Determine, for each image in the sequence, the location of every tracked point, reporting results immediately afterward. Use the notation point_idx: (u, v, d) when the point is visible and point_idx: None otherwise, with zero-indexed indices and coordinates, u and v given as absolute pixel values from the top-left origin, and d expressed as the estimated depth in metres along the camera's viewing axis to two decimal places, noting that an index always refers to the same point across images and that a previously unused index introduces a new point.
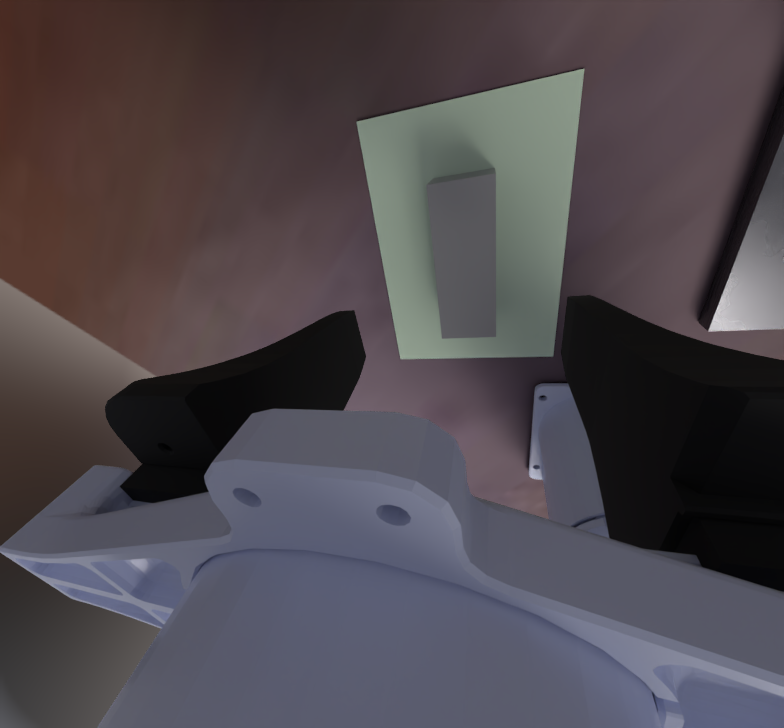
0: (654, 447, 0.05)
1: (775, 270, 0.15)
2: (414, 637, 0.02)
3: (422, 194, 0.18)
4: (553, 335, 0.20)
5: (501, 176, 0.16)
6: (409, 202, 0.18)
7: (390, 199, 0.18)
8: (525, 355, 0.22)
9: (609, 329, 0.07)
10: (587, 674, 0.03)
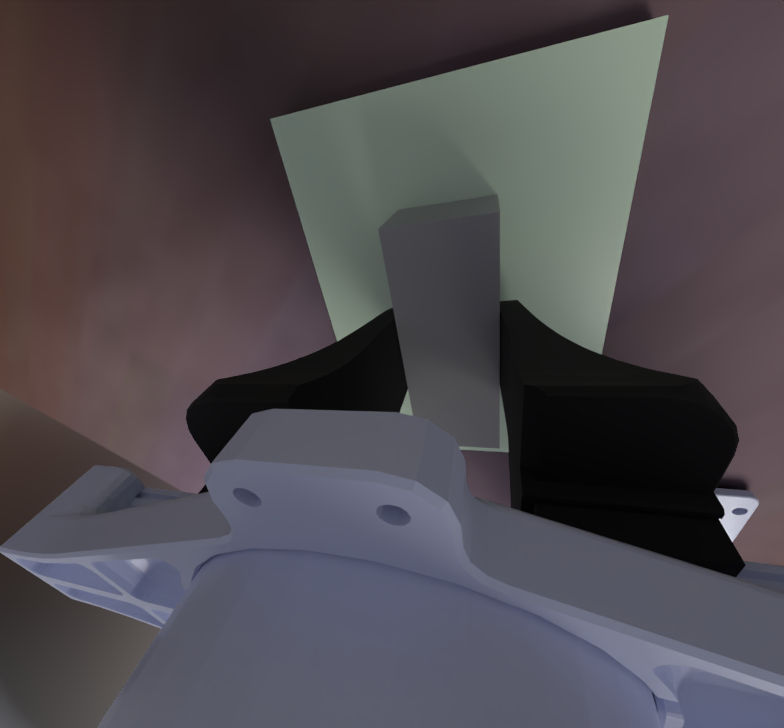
0: (517, 440, 0.06)
1: None
2: (414, 637, 0.02)
3: None
4: None
5: (508, 208, 0.10)
6: (364, 244, 0.12)
7: (335, 238, 0.12)
8: None
9: (510, 333, 0.08)
10: (587, 674, 0.03)
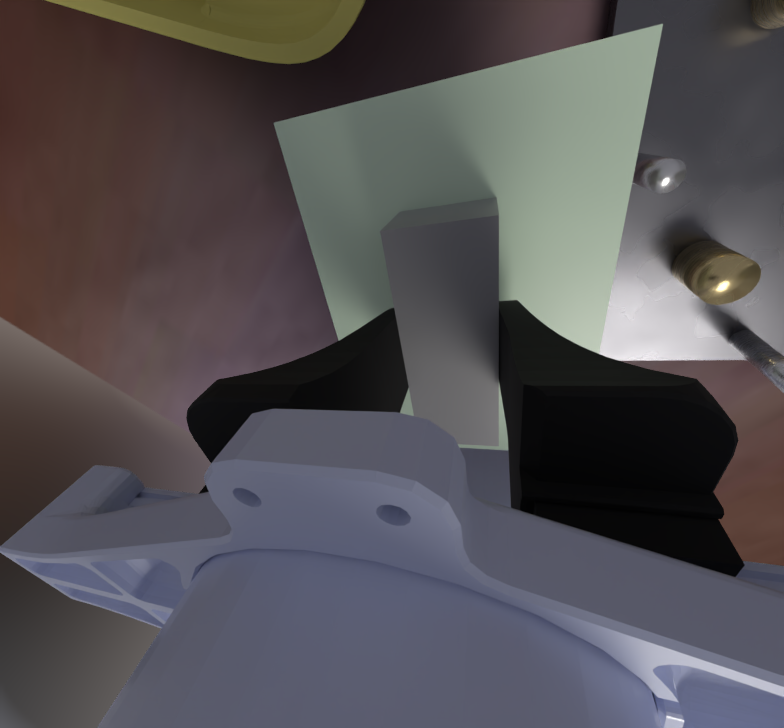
0: (516, 440, 0.06)
1: None
2: (414, 637, 0.02)
3: None
4: None
5: (507, 210, 0.10)
6: (365, 246, 0.12)
7: (337, 240, 0.12)
8: None
9: (510, 333, 0.08)
10: (587, 674, 0.03)
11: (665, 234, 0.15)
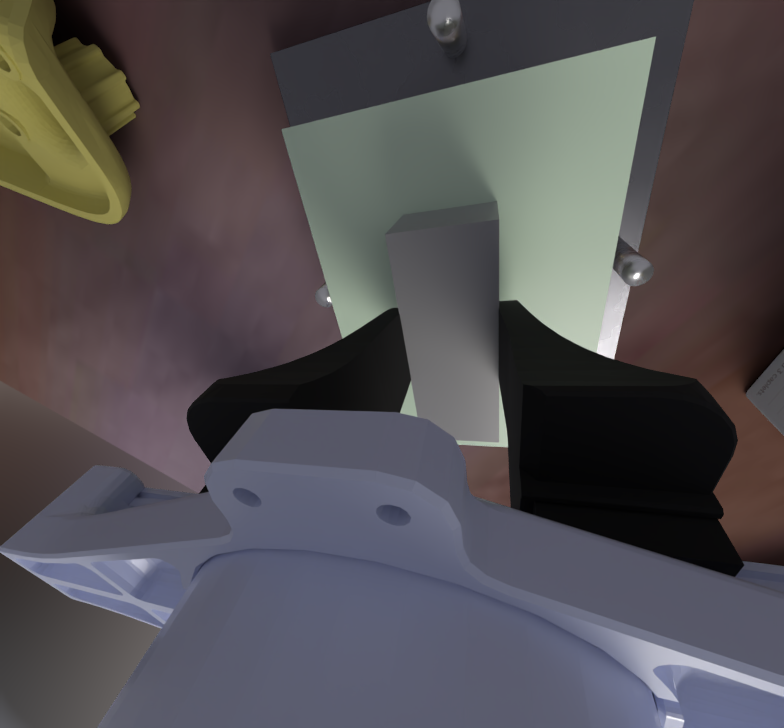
0: (516, 440, 0.06)
1: None
2: (414, 637, 0.02)
3: None
4: None
5: (507, 214, 0.10)
6: (370, 248, 0.12)
7: (342, 242, 0.12)
8: None
9: (509, 333, 0.08)
10: (587, 674, 0.03)
11: None
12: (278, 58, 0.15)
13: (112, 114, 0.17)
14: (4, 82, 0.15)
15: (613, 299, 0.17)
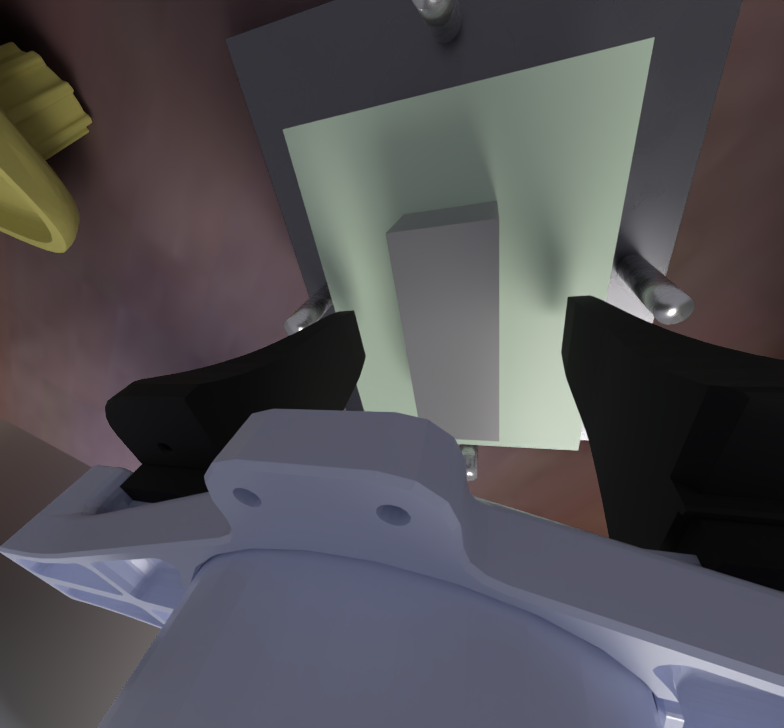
0: (654, 447, 0.05)
1: None
2: (414, 637, 0.02)
3: None
4: (579, 426, 0.15)
5: (507, 213, 0.11)
6: (370, 247, 0.12)
7: (343, 242, 0.12)
8: (539, 446, 0.16)
9: (609, 329, 0.07)
10: (587, 674, 0.03)
11: None
12: (235, 44, 0.12)
13: (57, 131, 0.15)
14: None
15: None
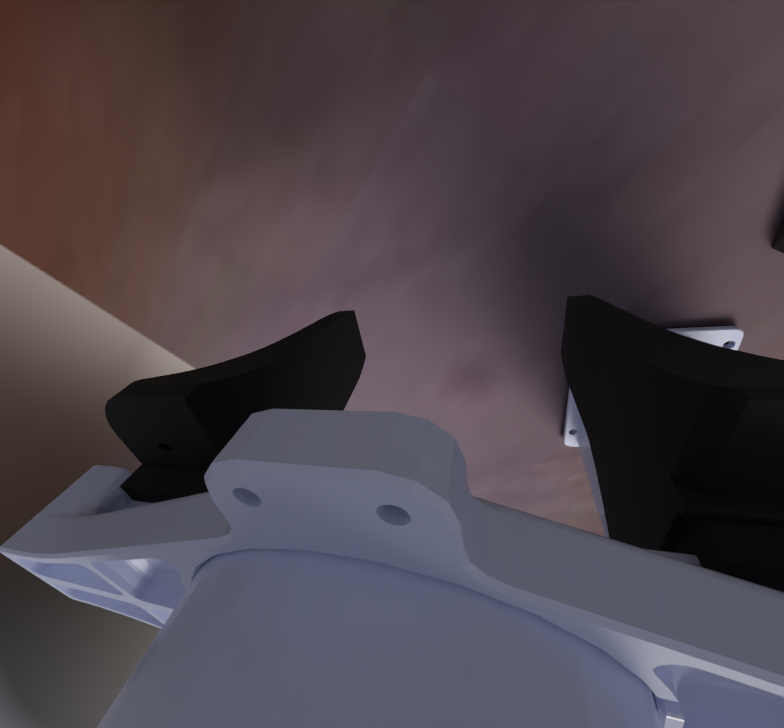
0: (654, 447, 0.05)
1: None
2: (414, 637, 0.02)
3: None
4: None
5: None
6: None
7: None
8: None
9: (609, 329, 0.07)
10: (587, 674, 0.03)
11: None
12: None
13: None
14: None
15: None
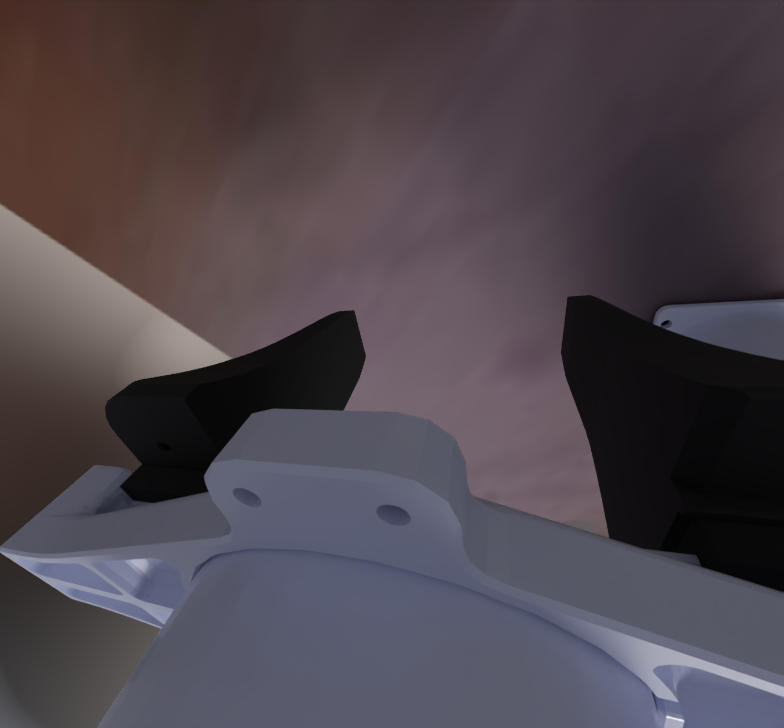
0: (654, 447, 0.05)
1: None
2: (414, 637, 0.02)
3: None
4: None
5: None
6: None
7: None
8: None
9: (609, 329, 0.07)
10: (587, 674, 0.03)
11: None
12: None
13: None
14: None
15: None
